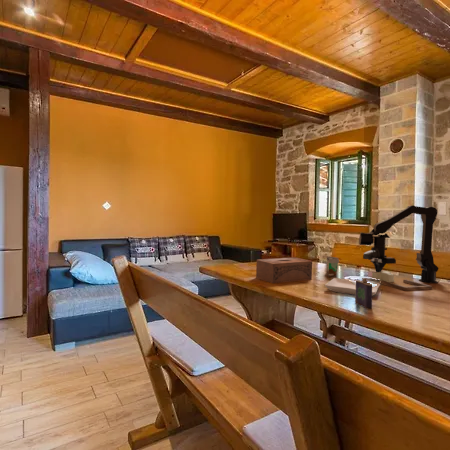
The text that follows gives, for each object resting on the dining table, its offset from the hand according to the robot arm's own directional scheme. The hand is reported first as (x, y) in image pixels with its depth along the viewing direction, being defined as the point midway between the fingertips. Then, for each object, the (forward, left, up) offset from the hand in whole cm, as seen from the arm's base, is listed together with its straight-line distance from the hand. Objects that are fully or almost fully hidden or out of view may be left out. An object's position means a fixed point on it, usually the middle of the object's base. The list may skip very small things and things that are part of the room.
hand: (378, 274), depth 175 cm
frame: (0, +18, -3) cm, 18 cm away
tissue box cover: (+52, -9, -3) cm, 53 cm away
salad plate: (+32, +21, -3) cm, 38 cm away
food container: (+20, -12, -3) cm, 24 cm away
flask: (+44, +43, -3) cm, 61 cm away
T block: (0, +5, -3) cm, 6 cm away
